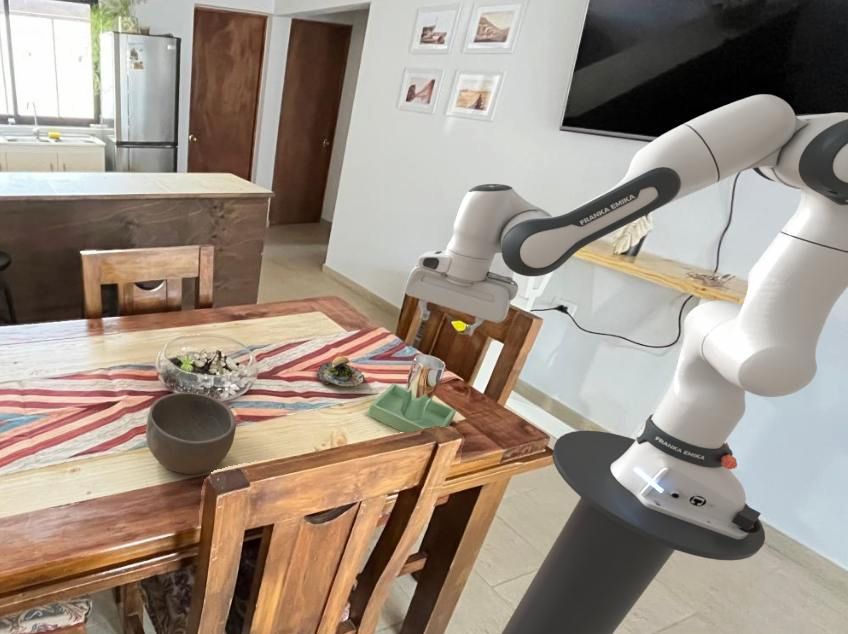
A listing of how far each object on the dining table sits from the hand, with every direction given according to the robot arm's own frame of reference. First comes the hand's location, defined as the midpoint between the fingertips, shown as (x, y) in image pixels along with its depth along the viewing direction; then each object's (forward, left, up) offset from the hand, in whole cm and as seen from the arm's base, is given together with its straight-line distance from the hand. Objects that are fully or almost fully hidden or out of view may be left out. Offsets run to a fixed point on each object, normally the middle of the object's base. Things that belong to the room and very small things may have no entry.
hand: (445, 326), depth 111 cm
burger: (+21, -2, -25) cm, 32 cm away
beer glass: (+1, +1, -24) cm, 24 cm away
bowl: (+29, +49, -25) cm, 62 cm away
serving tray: (+1, +1, -24) cm, 24 cm away
